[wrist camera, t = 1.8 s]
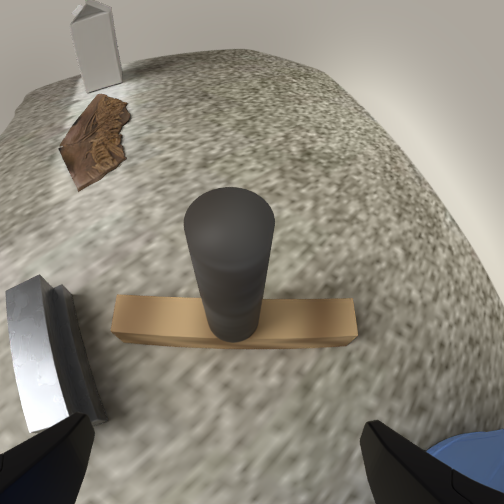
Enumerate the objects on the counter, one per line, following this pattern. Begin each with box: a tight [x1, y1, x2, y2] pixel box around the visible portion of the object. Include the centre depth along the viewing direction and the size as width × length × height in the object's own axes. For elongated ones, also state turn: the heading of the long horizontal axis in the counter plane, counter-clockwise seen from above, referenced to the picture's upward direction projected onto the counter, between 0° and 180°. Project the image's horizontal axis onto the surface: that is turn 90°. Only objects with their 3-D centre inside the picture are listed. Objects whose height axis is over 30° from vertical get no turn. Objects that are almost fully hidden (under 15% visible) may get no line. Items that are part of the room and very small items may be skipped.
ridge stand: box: [6, 274, 108, 434], centre depth 19 cm, size 12×6×4 cm, turn 27°
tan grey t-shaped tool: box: [111, 187, 358, 349], centre depth 18 cm, size 18×4×14 cm, turn 90°
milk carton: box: [70, 0, 122, 93], centre depth 40 cm, size 7×7×19 cm
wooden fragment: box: [59, 94, 130, 192], centre depth 38 cm, size 26×11×1 cm, turn 14°
